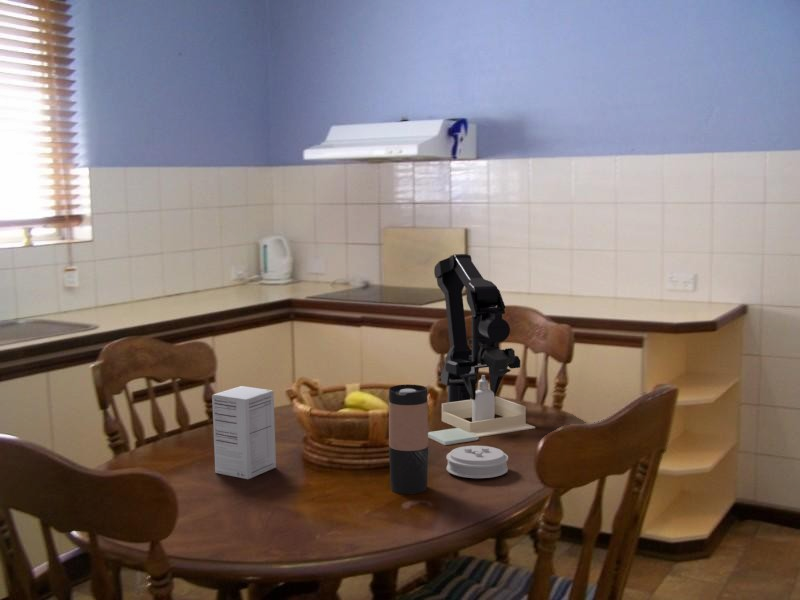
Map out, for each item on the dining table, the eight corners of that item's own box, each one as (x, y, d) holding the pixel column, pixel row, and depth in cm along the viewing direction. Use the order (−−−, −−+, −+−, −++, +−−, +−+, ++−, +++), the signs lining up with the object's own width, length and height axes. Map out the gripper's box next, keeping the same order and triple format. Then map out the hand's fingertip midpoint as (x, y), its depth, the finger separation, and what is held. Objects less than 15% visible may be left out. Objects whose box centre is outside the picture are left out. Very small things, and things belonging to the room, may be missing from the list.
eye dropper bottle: (471, 420, 238) (471, 373, 237) (493, 420, 238) (493, 373, 237) (472, 425, 234) (472, 377, 232) (495, 424, 234) (495, 377, 233)
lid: (470, 486, 188) (470, 462, 187) (434, 470, 199) (434, 447, 198) (520, 475, 195) (520, 452, 194) (483, 460, 205) (483, 438, 205)
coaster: (425, 435, 224) (425, 432, 224) (458, 430, 229) (458, 427, 229) (445, 445, 217) (445, 441, 217) (478, 439, 221) (478, 436, 221)
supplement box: (243, 461, 206) (241, 385, 203) (277, 467, 201) (275, 389, 199) (213, 473, 197) (210, 393, 195) (247, 480, 193) (245, 398, 191)
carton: (441, 421, 238) (441, 403, 238) (495, 413, 246) (495, 396, 245) (478, 437, 223) (479, 418, 223) (535, 428, 231) (535, 410, 230)
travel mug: (419, 480, 191) (418, 382, 189) (434, 491, 184) (434, 390, 182) (383, 485, 189) (382, 386, 186) (397, 496, 182) (396, 394, 179)
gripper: (468, 344, 222) (468, 409, 224) (534, 337, 231) (533, 400, 233) (444, 337, 232) (444, 400, 234) (507, 331, 240) (507, 391, 242)
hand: (483, 398), depth 235 cm, fingers closed on eye dropper bottle, 5 cm apart
